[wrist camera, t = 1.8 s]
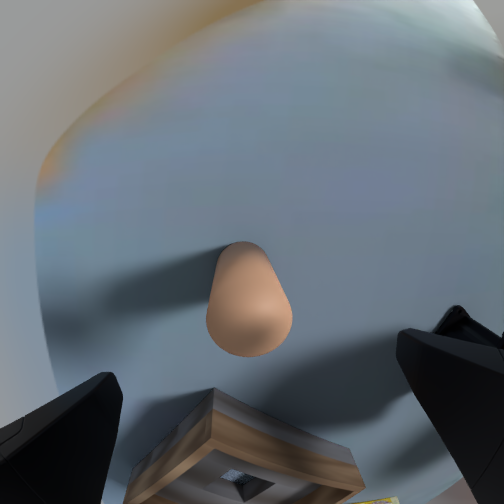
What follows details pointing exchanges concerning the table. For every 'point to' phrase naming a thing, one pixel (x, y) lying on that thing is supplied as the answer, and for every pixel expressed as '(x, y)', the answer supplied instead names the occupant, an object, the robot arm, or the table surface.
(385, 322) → the table surface
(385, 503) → the candy box
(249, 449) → the bore box
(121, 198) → the table surface
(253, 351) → the peg
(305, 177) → the table surface
